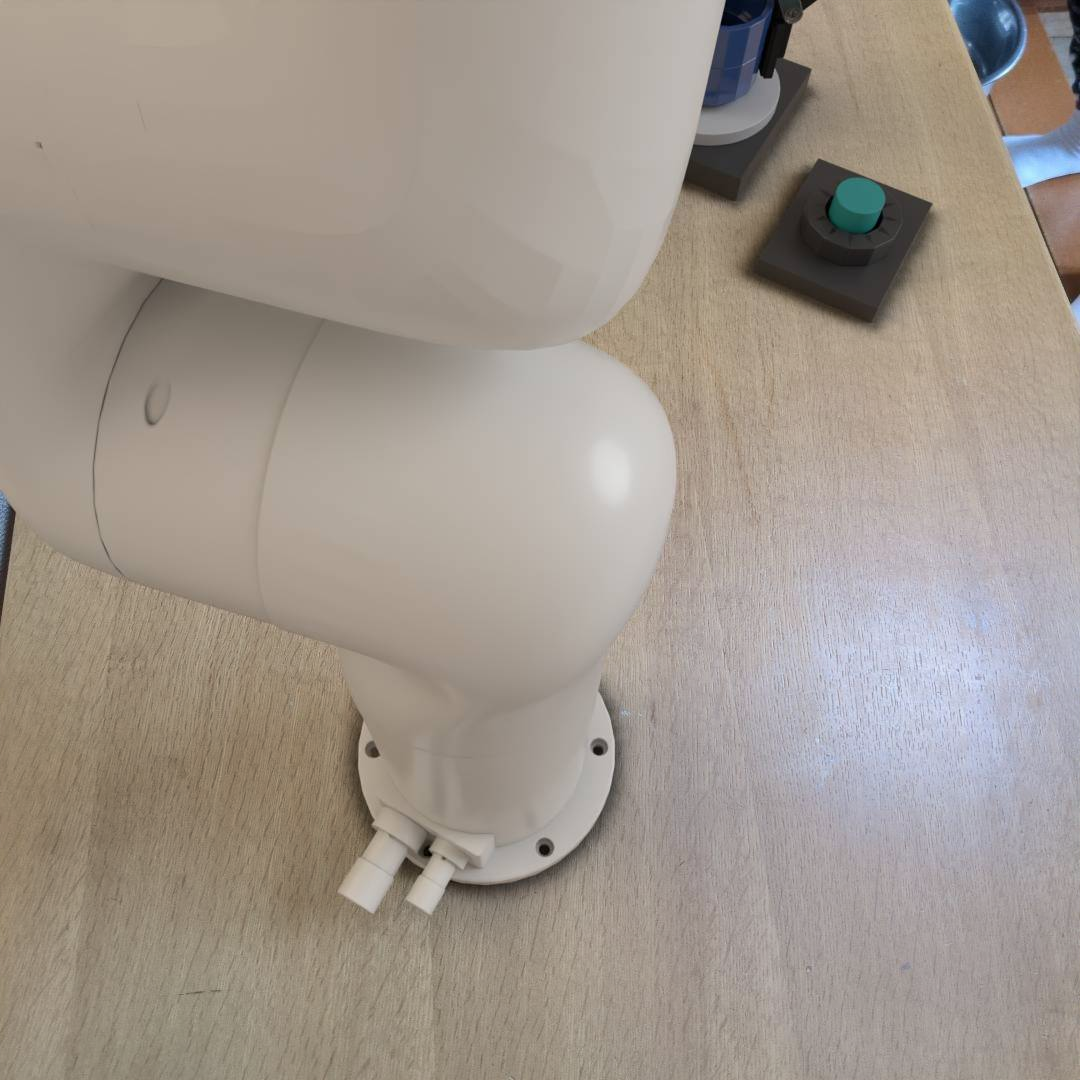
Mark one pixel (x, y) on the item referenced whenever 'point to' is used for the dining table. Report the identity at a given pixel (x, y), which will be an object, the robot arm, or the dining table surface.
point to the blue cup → (738, 50)
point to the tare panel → (841, 245)
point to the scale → (744, 130)
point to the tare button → (856, 205)
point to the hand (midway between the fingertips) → (709, 63)
